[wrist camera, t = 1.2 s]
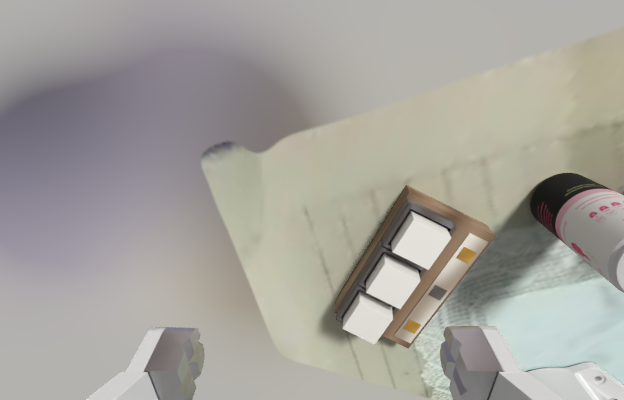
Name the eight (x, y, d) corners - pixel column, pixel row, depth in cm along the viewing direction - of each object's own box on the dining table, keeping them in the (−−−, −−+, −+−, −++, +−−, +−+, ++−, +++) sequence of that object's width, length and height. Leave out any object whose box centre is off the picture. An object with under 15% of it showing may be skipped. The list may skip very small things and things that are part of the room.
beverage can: (590, 221, 40) (710, 300, 26) (528, 228, 41) (610, 306, 27) (593, 167, 38) (725, 221, 24) (528, 176, 39) (617, 232, 25)
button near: (446, 228, 38) (451, 238, 36) (425, 258, 40) (428, 270, 37) (411, 210, 38) (413, 219, 36) (391, 241, 40) (392, 252, 37)
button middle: (417, 269, 40) (420, 280, 38) (398, 296, 42) (400, 309, 40) (384, 252, 40) (385, 263, 38) (366, 280, 42) (366, 292, 39)
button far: (391, 305, 42) (393, 319, 40) (374, 330, 44) (374, 344, 42) (359, 290, 42) (359, 302, 40) (343, 315, 44) (342, 328, 42)
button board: (487, 225, 42) (501, 244, 37) (405, 332, 49) (409, 359, 44) (406, 185, 42) (411, 198, 37) (336, 298, 49) (333, 322, 44)
